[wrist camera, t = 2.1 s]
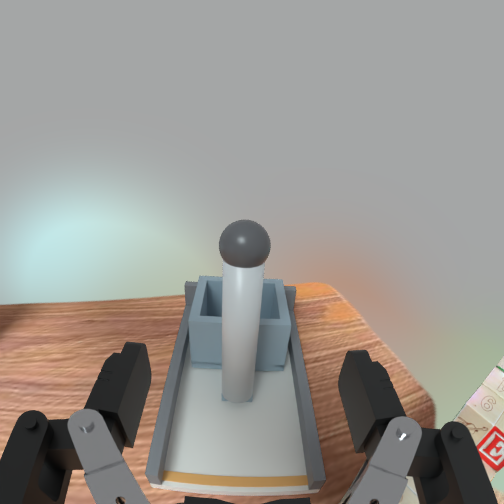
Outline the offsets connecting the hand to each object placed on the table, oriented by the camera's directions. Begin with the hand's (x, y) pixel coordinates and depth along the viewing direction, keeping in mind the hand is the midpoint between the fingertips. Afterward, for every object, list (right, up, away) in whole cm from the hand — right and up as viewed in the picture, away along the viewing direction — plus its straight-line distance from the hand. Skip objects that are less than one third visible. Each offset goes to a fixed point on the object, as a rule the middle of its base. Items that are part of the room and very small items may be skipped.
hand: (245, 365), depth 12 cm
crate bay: (-1, -10, +20) cm, 23 cm away
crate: (-1, -8, +23) cm, 24 cm away
